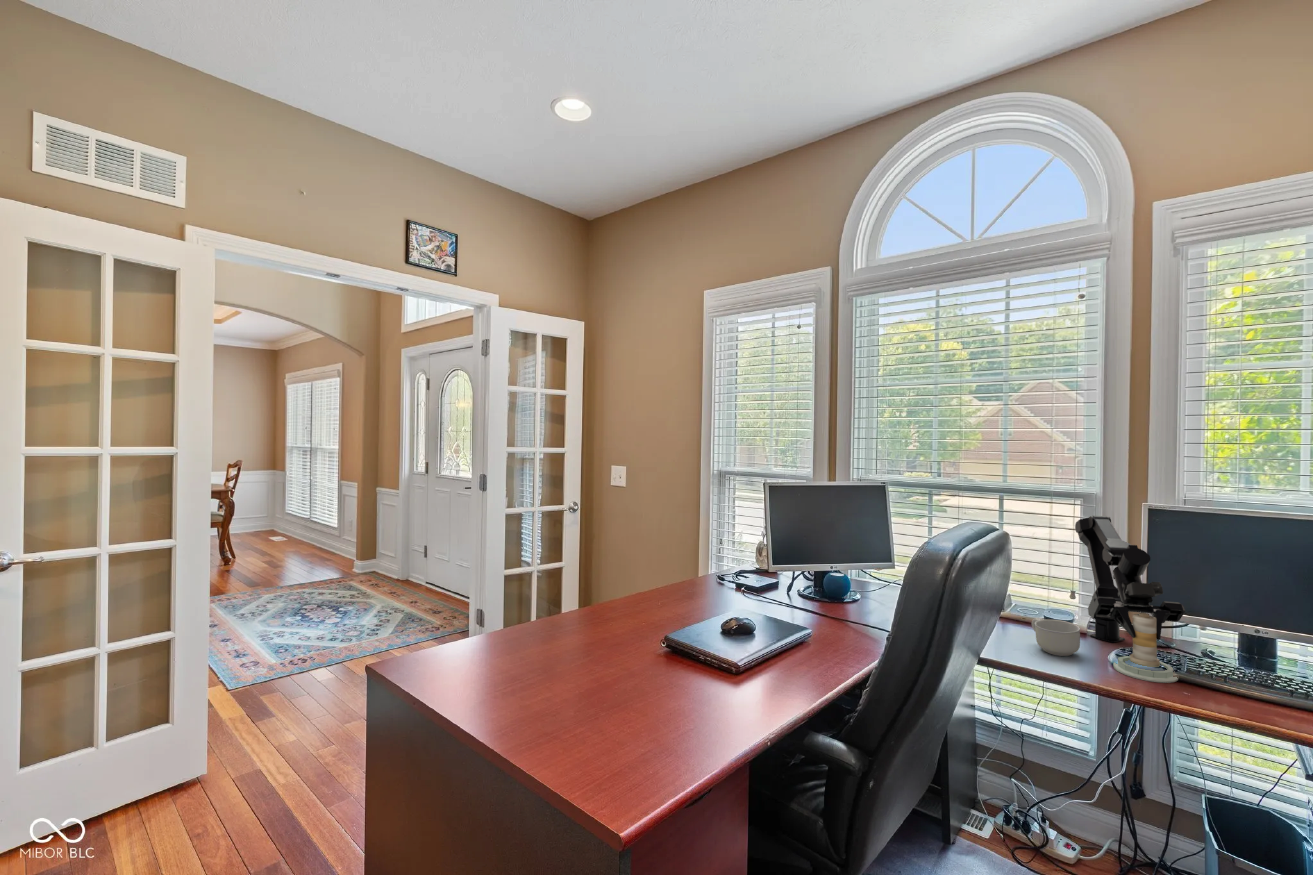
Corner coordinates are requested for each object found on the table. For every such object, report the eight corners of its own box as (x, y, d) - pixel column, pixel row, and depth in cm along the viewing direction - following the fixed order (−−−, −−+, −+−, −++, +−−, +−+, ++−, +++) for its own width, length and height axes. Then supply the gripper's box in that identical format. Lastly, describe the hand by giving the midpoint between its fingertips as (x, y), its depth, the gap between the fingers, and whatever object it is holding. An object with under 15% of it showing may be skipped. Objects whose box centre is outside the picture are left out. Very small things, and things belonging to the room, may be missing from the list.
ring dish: (1132, 660, 162) (1132, 652, 162) (1189, 677, 150) (1189, 669, 150) (1102, 667, 157) (1102, 659, 157) (1159, 686, 145) (1159, 677, 145)
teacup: (1089, 659, 163) (1089, 630, 163) (1050, 659, 163) (1050, 630, 163) (1056, 642, 177) (1056, 615, 177) (1020, 642, 177) (1019, 615, 177)
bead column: (1131, 656, 158) (1131, 608, 158) (1161, 662, 153) (1160, 613, 153) (1128, 662, 154) (1127, 613, 153) (1158, 668, 149) (1157, 618, 149)
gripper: (1096, 567, 160) (1110, 619, 150) (1181, 572, 154) (1203, 627, 143) (1086, 588, 168) (1100, 639, 158) (1168, 594, 161) (1187, 648, 151)
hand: (1146, 638), depth 152 cm, fingers closed on bead column, 5 cm apart
